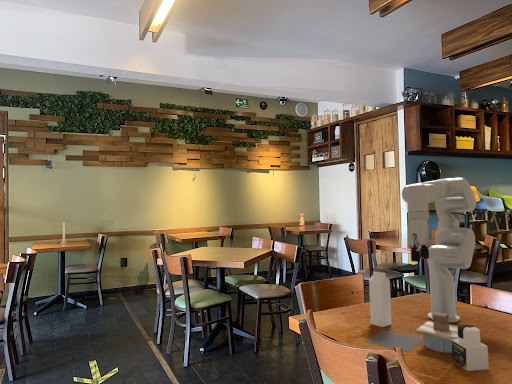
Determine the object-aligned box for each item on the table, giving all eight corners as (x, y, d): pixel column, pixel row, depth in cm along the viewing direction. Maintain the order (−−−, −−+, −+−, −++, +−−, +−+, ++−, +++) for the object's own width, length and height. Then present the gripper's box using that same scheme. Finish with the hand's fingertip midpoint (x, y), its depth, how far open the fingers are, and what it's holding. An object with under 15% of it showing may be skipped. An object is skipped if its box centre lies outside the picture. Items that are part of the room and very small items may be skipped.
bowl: (430, 340, 140) (430, 324, 140) (464, 347, 132) (463, 330, 133) (420, 348, 132) (419, 332, 132) (454, 356, 124) (454, 339, 124)
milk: (383, 328, 154) (380, 274, 155) (370, 325, 159) (368, 272, 160) (391, 325, 158) (389, 272, 158) (379, 322, 163) (377, 270, 163)
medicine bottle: (452, 361, 120) (450, 323, 121) (473, 360, 121) (471, 322, 122) (466, 371, 113) (464, 330, 114) (489, 370, 114) (487, 329, 114)
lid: (428, 323, 141) (427, 307, 142) (467, 330, 133) (466, 313, 133) (415, 332, 132) (414, 315, 132) (456, 341, 123) (455, 322, 123)
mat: (383, 331, 150) (383, 330, 150) (425, 340, 140) (425, 338, 140) (364, 343, 139) (364, 341, 139) (408, 353, 128) (408, 351, 128)
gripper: (416, 215, 157) (418, 256, 157) (400, 216, 145) (401, 262, 144) (435, 215, 152) (437, 258, 152) (420, 216, 140) (422, 263, 139)
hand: (420, 259), depth 148 cm, fingers open, 9 cm apart
